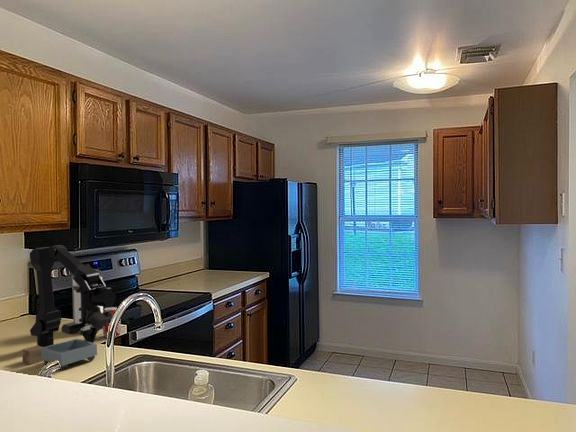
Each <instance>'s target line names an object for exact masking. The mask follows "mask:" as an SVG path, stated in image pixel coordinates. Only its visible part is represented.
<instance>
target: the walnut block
mask: <svg viewBox="0 0 576 432" xmlns="http://www.w3.org/2000/svg"><path fill="white" fill-rule="evenodd" d="M41 348H43V347H41V346H38V345H37V344H36V345H32V346H29V347H25V348H22V351H21V353H22V354H21V355H22V363H23V364H26V365H28V366H31V365H32V366H33V365H36V364H39V363H42V362H44V360H42V359H41Z"/></svg>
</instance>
